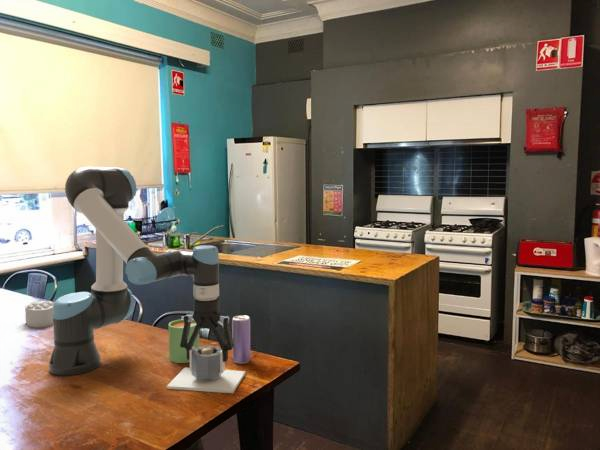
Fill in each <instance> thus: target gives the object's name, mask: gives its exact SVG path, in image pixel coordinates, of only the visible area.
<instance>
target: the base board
mask: <svg viewBox="0 0 600 450" xmlns="http://www.w3.org/2000/svg"><path fill="white" fill-rule="evenodd" d="M245 375H246V371H245V370H233V369H225V371H224V372H223V373H222V374H221V375H220V376H219V377H217V378H213V379H212V380H208V381H205V380H203V379H196V378H195V377H194V376H193V375H192V371H190V367H185V366H184V367H183V369H182V370H181V371H180V372H178V374H177V375H176V376H175V377H174V378H172V380H171V381H170V382H169V383H168V384H167V385H166V389H168V390H181V391H194V392H197V391H198V392H208V393H209V392H211V393H223V394H234V393H235V391H236V390H237V388H238V386H239V385H240V383H241V382H242V380H243V379H244V377H245Z"/></svg>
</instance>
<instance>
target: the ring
mask: <svg viewBox="0 0 600 450" xmlns="http://www.w3.org/2000/svg"><path fill="white" fill-rule="evenodd" d="M204 348H212V349H213V354H210V355H204V354H202V349H204ZM221 350H222V349H221V347H220V346H217V345H215V346H214V345H203V346H199V347H198V348H195V349H194V350H193V351H192V375H193V376H194V377H195V378H196V379H206V380H209V379H213V378H217V377H219V376H220V375H221V374H222V373H220V351H221Z"/></svg>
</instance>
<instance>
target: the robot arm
mask: <svg viewBox="0 0 600 450" xmlns="http://www.w3.org/2000/svg"><path fill="white" fill-rule="evenodd" d="M64 185H65V187H64V191H65V197H66V199H67V201H68V203H69V204H70V206H71V207H72V208H73V209H74V211H75V212H77V213H79V214H83V215H84V216H85V217H86V219H87V220H88V221H89V222H90V223H91V224H92V226H93V228H95V229H96V234H95V235H96V238H95V239H96V242H95V244H96V246H95V248H96V255H95V258H96V259H95V260H96V262H95V263H96V264H95V266H96V267H95V282H94V283H93V284H92V285H91V286H90V287H91V289H90V290H91V291H90V292H89V291H79V292H71V293H67V294H65V295H61V296H59V297H58V298H57V299H56V300H55V301H54V302H53V313H52V316H53V324H52V326H53V341H54V346H53V351H52V353H51V356H50V360H49V363H48V369H49V372H50V373H51V374H53V375H57V376H75V375H81V374H84V373H89V372H91V371H93V370H95V369H97V368H98V367H100V366H101V364H102V363H101V355H100V352H99V350H98V347H97V344H96V342H95V333H94V332H95V330H97V329H100V328H104V327H107V326H111V325H114V324H118V323H121V322H122V321H126V320H127V319H128V318H129V317H131V315H132V314H133V312H134V309H135V301H136V300H135V297H134V295H133V291H132V290H131V289H129V288H128V284H127V283H126V282H125V281H124V262H125V264H126V265H125V275H127V279H128V281H129V282H130V283H132V284H133V285H136V286H137V285H147V284H151V283H154V282H158V281H162V280H166V279H170V278H171V279H172V278H174V277H178V276H186V277H192V280H193V283H192V285H193V297H194V299H193V314H190V313H187V314H186V315H184V316H183V319H184V328H183V333H182V338H181V344H180V347H182V348H183V347H184V348H186V350H187V360H190V362H189V368H190V371H192V351H193V350H194V349H195V347H193V348H192V346H193V344H194V342H195V340H196V338H197V336H198V333H199V332H200V331H201V330H204V329H207V330H211V332H212V333H213V334H214V336H215V338H216V340H217V343H218V345H219V348H221V349H222V350H221V351H220V373H223V372H224V371H225V370H226V363H227V361H228V359H229V351H232V348H233V347H234V343H233V338H232V330H231V329H232V328H231V326H230V320H231V317H230V315H226V316H224V315H221V313H220V298H219V296H220V279H219V278H220V277H219V276H220V275H219V274H220V273H219V272H220V257H219V255H220V254H219V249H218V247H217V246H215V245H207V244H206V245H204V244H203V245H196V246H194V247H193V248H192V251H190V250H183V249H182V250H181V249H178V248H177V249H166V250H164V252H163V253H158V254H157V253H156V254H154V252H153V251H152V250H151V249H150V248H149V247H148V245H146V243H145V242H143V239H141V238H140V237H139V236H138V234H136V232H135V231H134V230H133V229H132V227H130V226H129V225H128V223H127V222H126V221H125V220H124V219H125V216H124V215H125V212H126V211H127V210H128V209H129V202H131V201H132V200H134V198H135V196H136V194H137V183H136V180H135V177H134V176H133V175H132V174H131V171H129V170H128V169H125V168H122V167H115V166H107V167H106V166H82V167H79V168H76V169H75V170H74V171H73V172H71V173H70V174H69V175H68V177H67V178H66V181H65V184H64ZM192 319H193V320H194V321H195V322H196V326H195V329H194V331H193V334H192V336H191V338H190V340H189V342H188V343H187V340H188V335H189V330H190V325H191V321H192ZM219 321H220V322H221V324H222V328H223V333H224V335H225V337H224V335H223V333H222V331H221V328H220V326H219V324H218V323H219Z"/></svg>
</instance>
